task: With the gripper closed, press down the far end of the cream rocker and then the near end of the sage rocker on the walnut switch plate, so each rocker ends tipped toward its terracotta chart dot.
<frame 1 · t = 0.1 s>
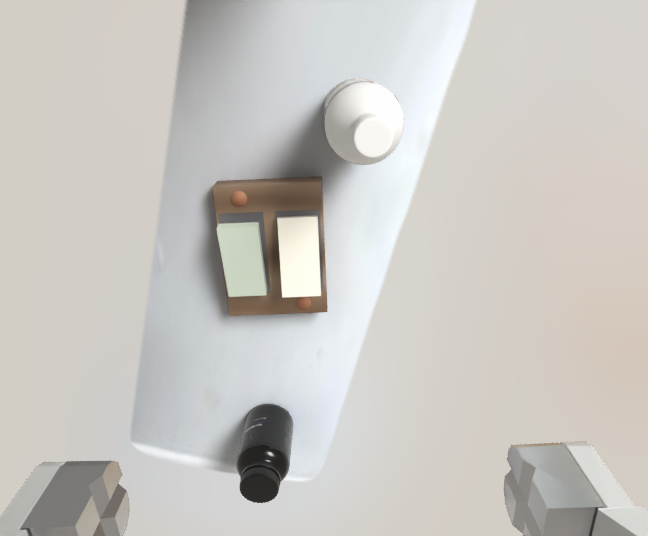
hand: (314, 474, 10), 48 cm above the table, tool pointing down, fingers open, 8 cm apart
sage rocker: (243, 260, 55), point 5 cm above the table, hinge at 10.0°
cream rocker: (299, 256, 55), point 5 cm above the table, hinge at -10.0°
switch plate: (275, 244, 59), on the table
supplement bottle: (269, 420, 70), on the table
bath foam: (355, 111, 53), on the table
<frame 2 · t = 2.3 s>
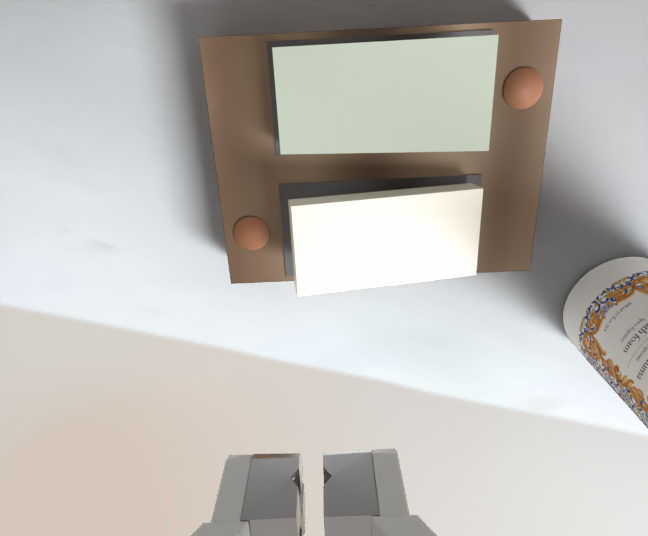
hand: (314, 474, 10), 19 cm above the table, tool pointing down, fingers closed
sage rocker: (381, 98, 21), point 5 cm above the table, hinge at 10.0°
cream rocker: (386, 238, 23), point 5 cm above the table, hinge at -10.0°
switch plate: (373, 154, 26), on the table
bath foam: (613, 303, 30), on the table
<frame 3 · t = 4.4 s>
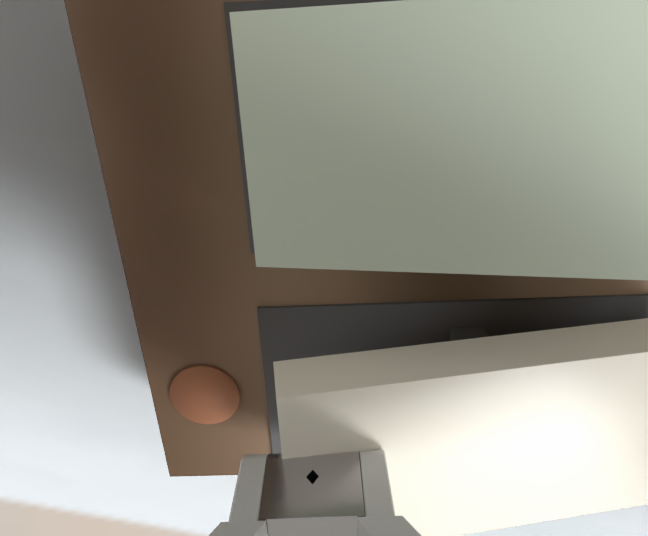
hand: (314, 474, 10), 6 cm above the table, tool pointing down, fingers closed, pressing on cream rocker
sage rocker: (506, 143, 8), point 5 cm above the table, hinge at 10.0°
cream rocker: (485, 436, 11), point 5 cm above the table, hinge at -8.7°, touching gripper
switch plate: (442, 230, 14), on the table
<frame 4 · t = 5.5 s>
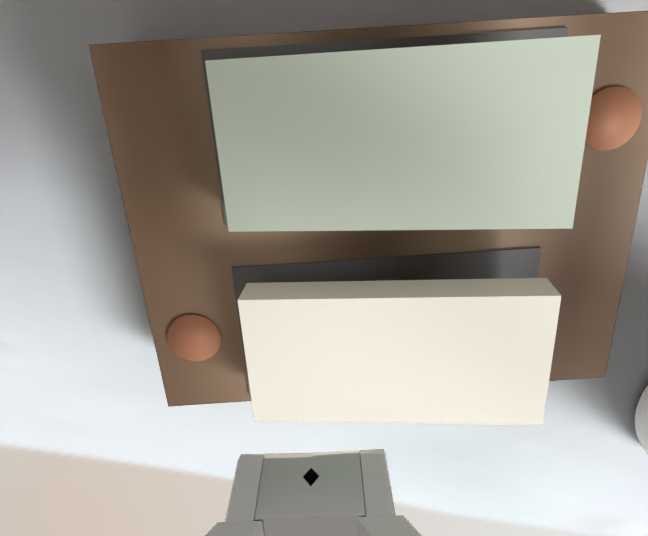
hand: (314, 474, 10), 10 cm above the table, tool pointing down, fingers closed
sage rocker: (391, 142, 13), point 5 cm above the table, hinge at 10.0°
cream rocker: (393, 353, 15), point 5 cm above the table, hinge at 6.7°
switch plate: (374, 210, 18), on the table
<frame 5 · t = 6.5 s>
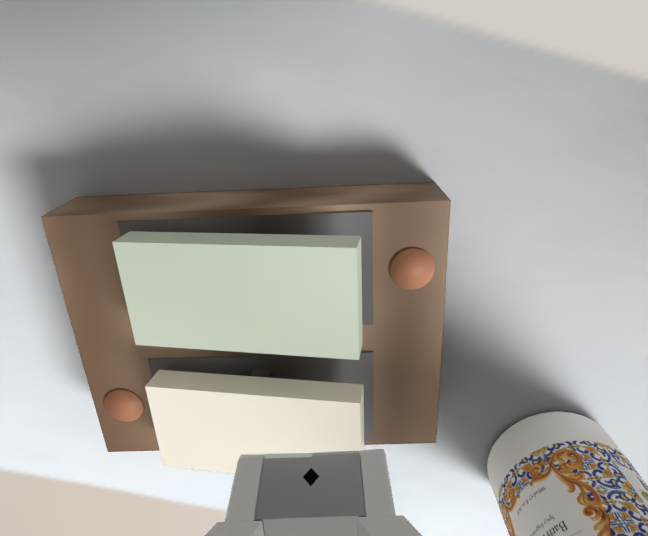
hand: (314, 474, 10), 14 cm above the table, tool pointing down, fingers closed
sage rocker: (241, 293, 18), point 5 cm above the table, hinge at 10.0°
cream rocker: (257, 427, 21), point 5 cm above the table, hinge at 9.6°
switch plate: (266, 308, 24), on the table
bath foam: (544, 452, 28), on the table
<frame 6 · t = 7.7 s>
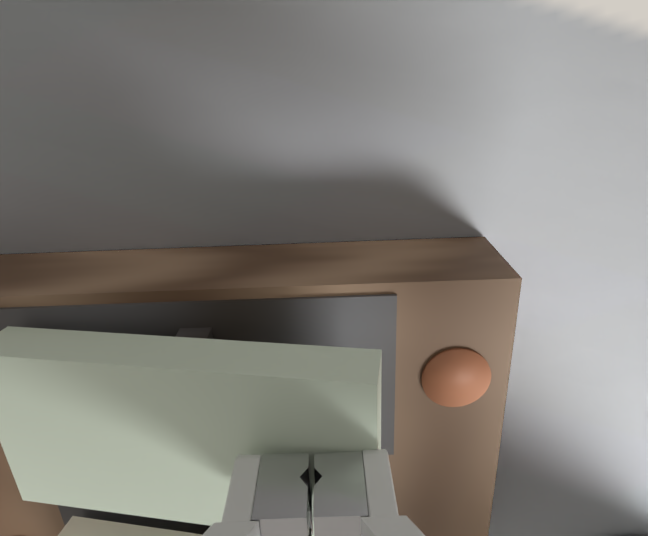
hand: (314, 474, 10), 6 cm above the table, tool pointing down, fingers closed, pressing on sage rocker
sage rocker: (184, 432, 11), point 5 cm above the table, hinge at 10.0°, touching gripper
switch plate: (238, 407, 17), on the table
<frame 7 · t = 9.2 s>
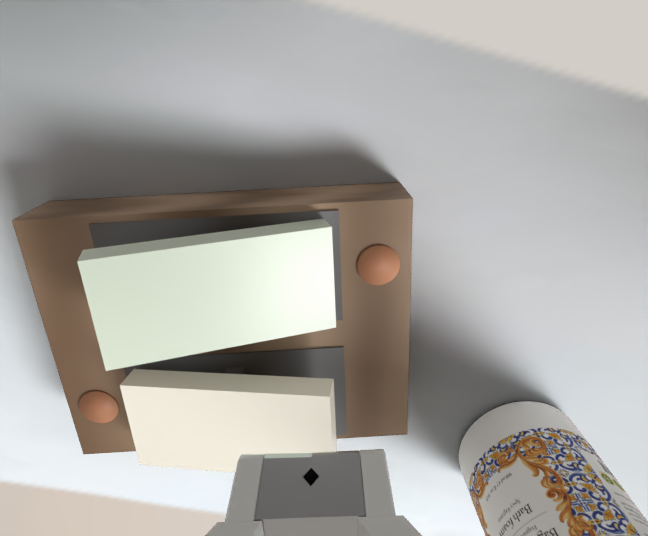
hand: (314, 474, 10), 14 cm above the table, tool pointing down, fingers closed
sage rocker: (219, 291, 19), point 5 cm above the table, hinge at -14.4°, touching switch plate
cream rocker: (232, 423, 21), point 5 cm above the table, hinge at 10.4°
switch plate: (239, 308, 24), on the table
bath foam: (513, 442, 29), on the table
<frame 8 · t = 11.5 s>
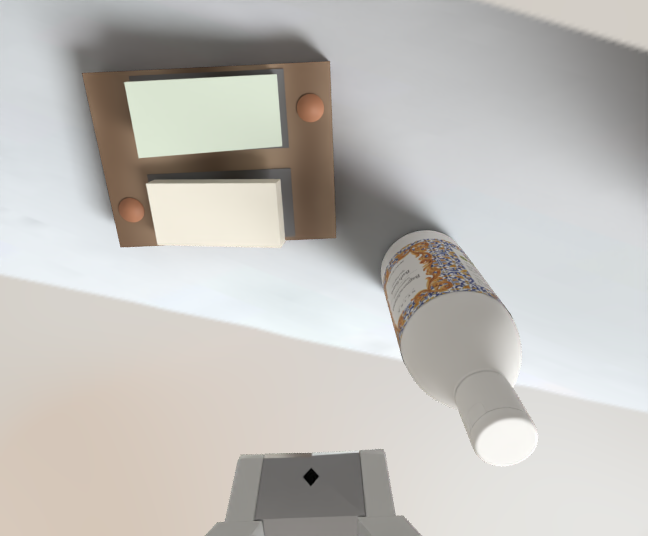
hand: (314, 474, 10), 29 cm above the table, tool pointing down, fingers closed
sage rocker: (207, 115, 31), point 5 cm above the table, hinge at -13.7°
cream rocker: (216, 213, 33), point 5 cm above the table, hinge at 10.4°
switch plate: (225, 153, 36), on the table
bath foam: (421, 267, 40), on the table
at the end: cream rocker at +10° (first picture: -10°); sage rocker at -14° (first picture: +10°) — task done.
